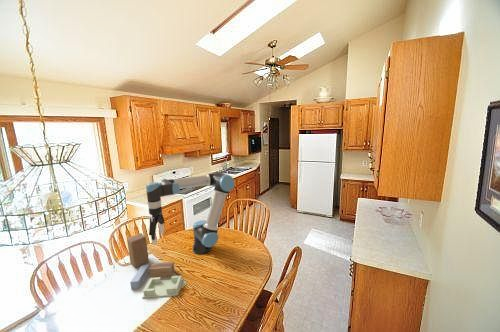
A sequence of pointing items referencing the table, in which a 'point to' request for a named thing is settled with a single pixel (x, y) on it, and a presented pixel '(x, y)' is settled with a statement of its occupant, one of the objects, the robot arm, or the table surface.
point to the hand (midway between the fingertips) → (158, 238)
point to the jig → (163, 287)
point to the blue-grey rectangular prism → (139, 276)
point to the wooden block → (138, 249)
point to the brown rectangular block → (162, 270)
